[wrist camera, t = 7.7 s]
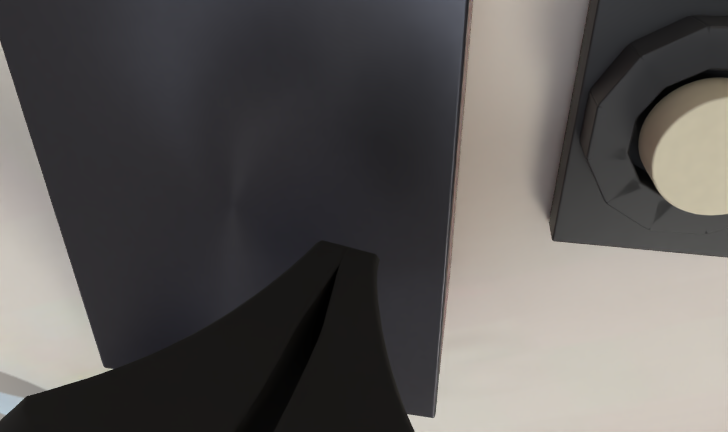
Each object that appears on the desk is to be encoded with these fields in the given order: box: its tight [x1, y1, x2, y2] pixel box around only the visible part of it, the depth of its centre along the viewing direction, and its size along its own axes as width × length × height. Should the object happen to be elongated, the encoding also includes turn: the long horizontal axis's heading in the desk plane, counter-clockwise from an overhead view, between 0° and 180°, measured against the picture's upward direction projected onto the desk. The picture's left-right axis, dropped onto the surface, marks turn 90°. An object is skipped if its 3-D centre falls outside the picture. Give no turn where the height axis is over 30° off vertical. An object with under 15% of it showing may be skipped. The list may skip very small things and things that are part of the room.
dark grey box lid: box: [0, 0, 470, 418], centre depth 16 cm, size 15×13×1 cm
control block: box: [549, 0, 728, 257], centre depth 18 cm, size 10×7×3 cm
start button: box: [638, 77, 728, 215], centre depth 16 cm, size 4×4×2 cm
